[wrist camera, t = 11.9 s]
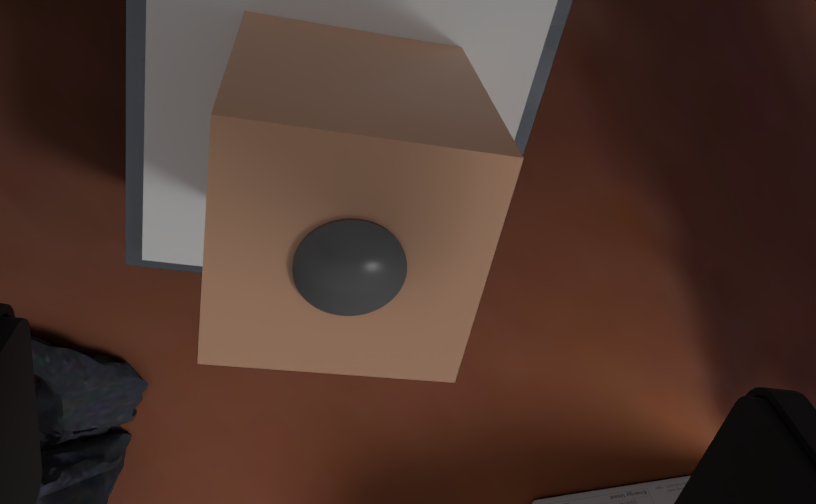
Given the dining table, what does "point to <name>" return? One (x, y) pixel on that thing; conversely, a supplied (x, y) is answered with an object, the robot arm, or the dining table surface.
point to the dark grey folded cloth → (82, 422)
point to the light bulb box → (626, 494)
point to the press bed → (206, 62)
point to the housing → (349, 203)
